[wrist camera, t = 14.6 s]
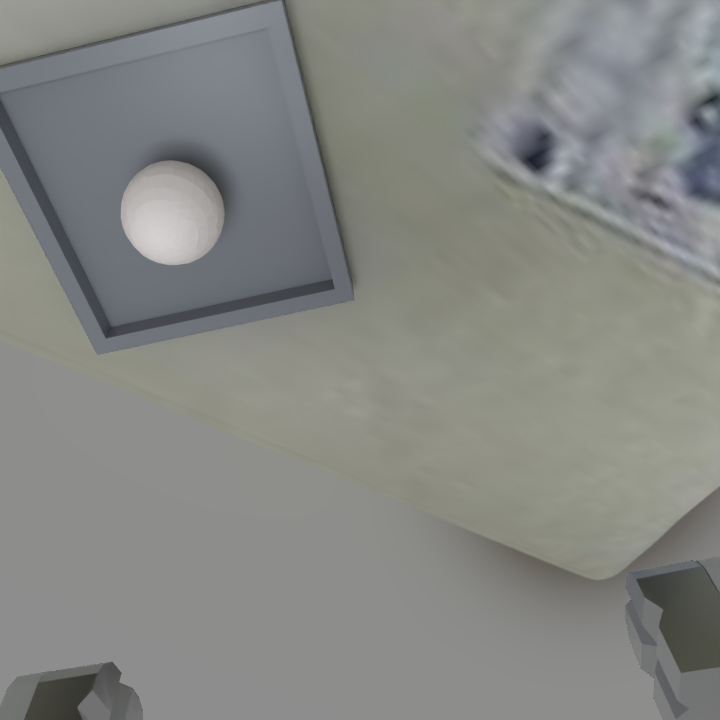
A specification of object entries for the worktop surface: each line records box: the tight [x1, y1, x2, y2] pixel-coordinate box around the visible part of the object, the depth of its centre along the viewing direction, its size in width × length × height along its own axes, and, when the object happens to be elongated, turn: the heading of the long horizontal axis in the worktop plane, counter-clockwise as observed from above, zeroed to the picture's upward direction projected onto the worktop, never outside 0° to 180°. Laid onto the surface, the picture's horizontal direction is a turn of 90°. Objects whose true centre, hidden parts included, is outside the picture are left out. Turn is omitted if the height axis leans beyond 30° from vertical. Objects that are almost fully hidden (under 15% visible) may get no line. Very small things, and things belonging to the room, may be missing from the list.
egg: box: [121, 160, 225, 265], centre depth 42 cm, size 6×6×8 cm
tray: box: [0, 0, 354, 355], centre depth 45 cm, size 20×20×2 cm
